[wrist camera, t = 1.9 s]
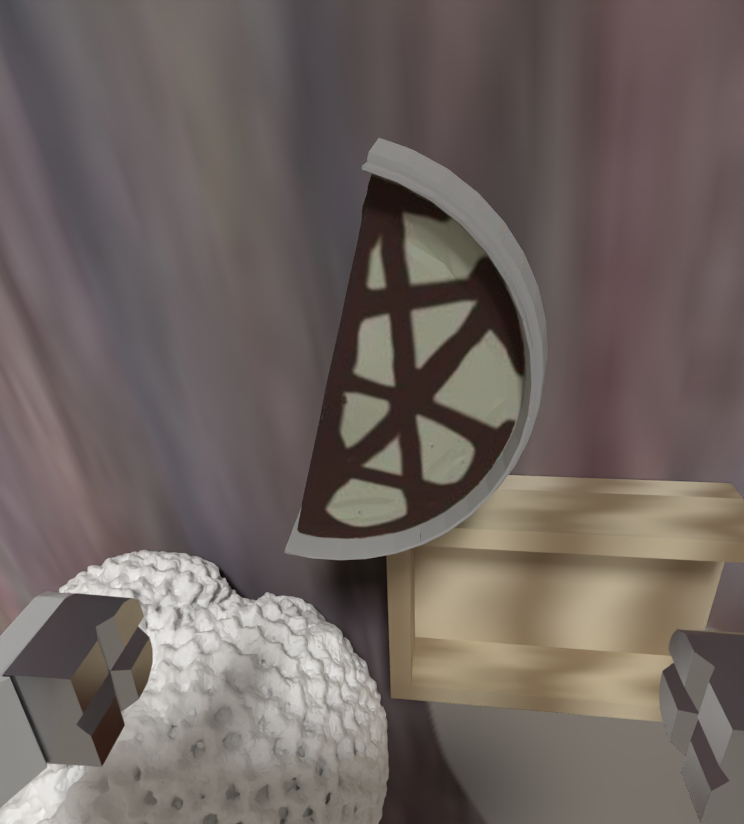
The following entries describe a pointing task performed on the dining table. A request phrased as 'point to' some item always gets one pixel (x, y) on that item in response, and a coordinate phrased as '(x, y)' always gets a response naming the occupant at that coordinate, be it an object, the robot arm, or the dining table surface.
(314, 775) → the white bumpy round lump
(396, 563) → the wooden tray
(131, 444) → the dining table surface
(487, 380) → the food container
